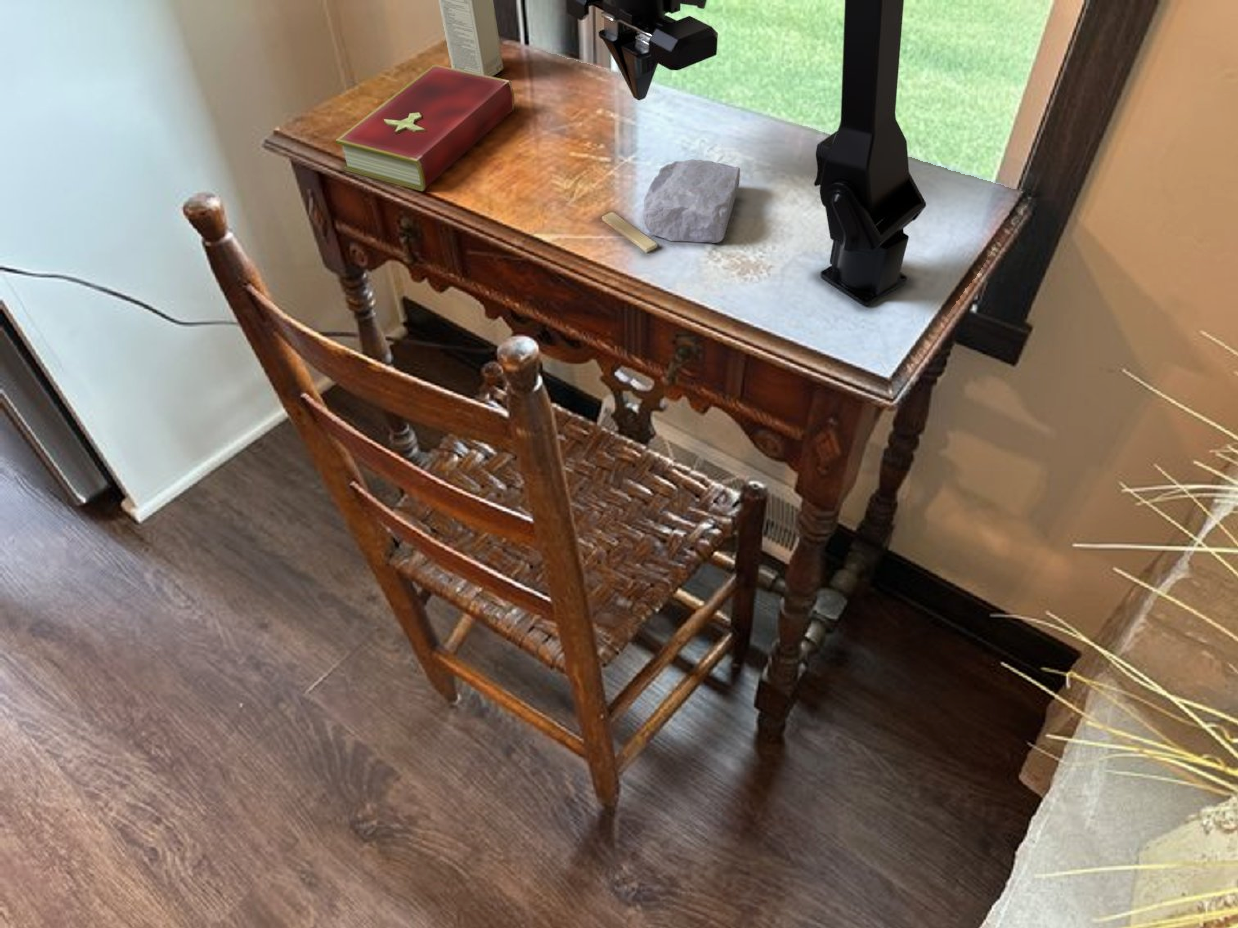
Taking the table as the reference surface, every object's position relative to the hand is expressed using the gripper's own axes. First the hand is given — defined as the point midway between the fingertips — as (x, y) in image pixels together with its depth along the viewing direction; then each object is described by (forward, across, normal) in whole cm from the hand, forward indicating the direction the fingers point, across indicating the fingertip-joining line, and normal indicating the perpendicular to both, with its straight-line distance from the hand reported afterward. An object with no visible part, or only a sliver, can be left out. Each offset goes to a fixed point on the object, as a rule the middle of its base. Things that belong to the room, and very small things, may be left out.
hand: (639, 98), depth 102 cm
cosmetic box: (+10, +36, +1) cm, 37 cm away
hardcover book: (+10, +24, +15) cm, 29 cm away
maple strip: (+10, -8, +8) cm, 15 cm away
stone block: (+10, -10, +1) cm, 14 cm away
